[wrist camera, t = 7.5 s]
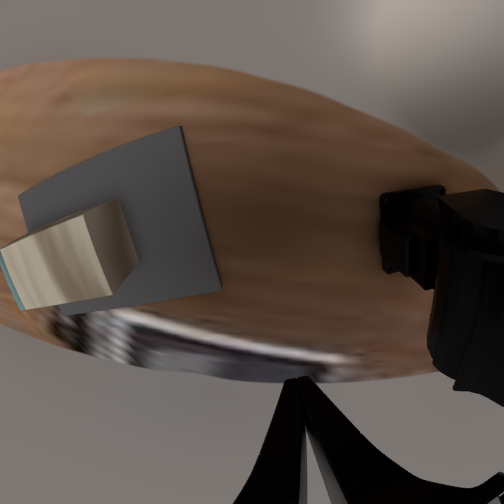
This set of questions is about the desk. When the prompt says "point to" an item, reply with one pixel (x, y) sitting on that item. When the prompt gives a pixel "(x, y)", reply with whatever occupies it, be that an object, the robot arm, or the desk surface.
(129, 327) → the desk surface
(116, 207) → the ash block
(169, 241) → the mat
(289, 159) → the desk surface
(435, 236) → the robot arm
